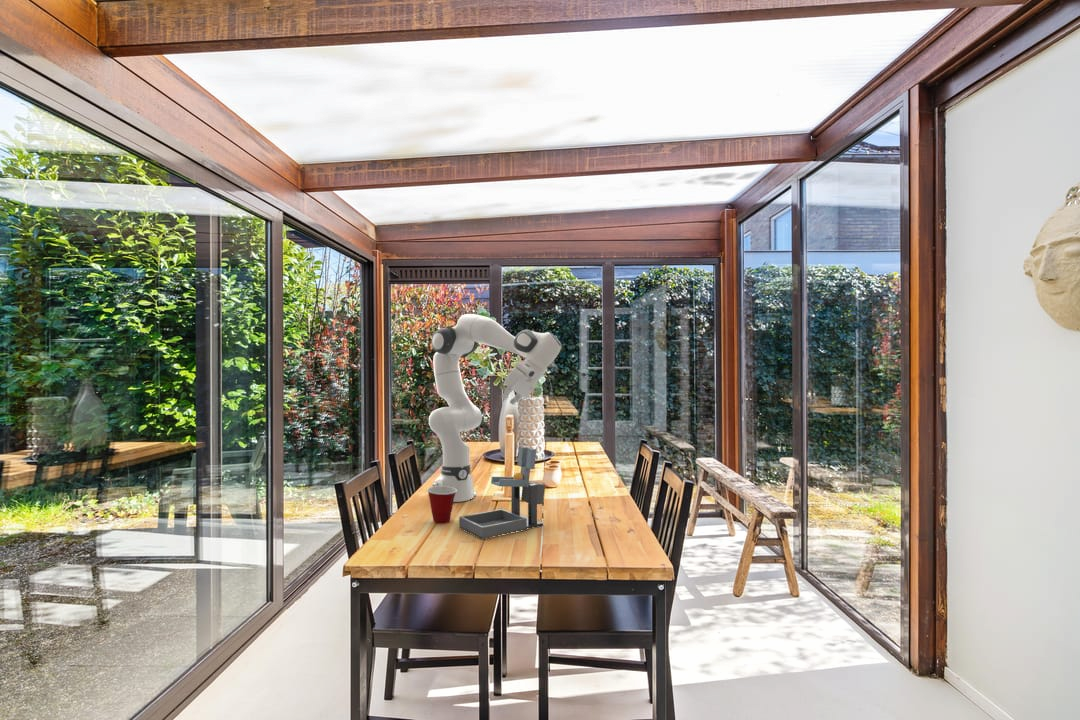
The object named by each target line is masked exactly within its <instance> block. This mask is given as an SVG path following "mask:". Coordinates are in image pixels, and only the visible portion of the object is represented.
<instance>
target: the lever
mask: <svg viewBox="0 0 1080 720" xmlns="http://www.w3.org/2000/svg"><path fill="white" fill-rule="evenodd" d="M536 457H537V449H535V448H532V447H527V446H519V448H518V456H517V464H516V465H517V466H518V467H520V472H519V473H521V474H522V475H523V479H513V476H491V480H490V484H492V485H494V486H497V487H505V488H506V487H520V488H522V489H521V496H520V502H524V503H526V504H528V485H529V484H536V485H537V505H544V501H545V500H544V499H545V489H546V484H544V483H542V482H537V481H535V480H533V481H532V480H531V481H530V475H531V470H535V466H536V465H535V464H536Z"/></svg>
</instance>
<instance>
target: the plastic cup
mask: <svg viewBox="0 0 1080 720" xmlns="http://www.w3.org/2000/svg"><path fill="white" fill-rule="evenodd" d="M426 491H427V493H429V495H428V497H429V502H430V508H431V509H430V510H431V514H432V520H433V523H434V524H447V522H448V523H450V520H451V517H452V512H453V505H454V502H453V501H454V496H455V493H456V492H457V489H455V488H453V487H447V486H434V487H432V486H430V487H427V489H426Z"/></svg>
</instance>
